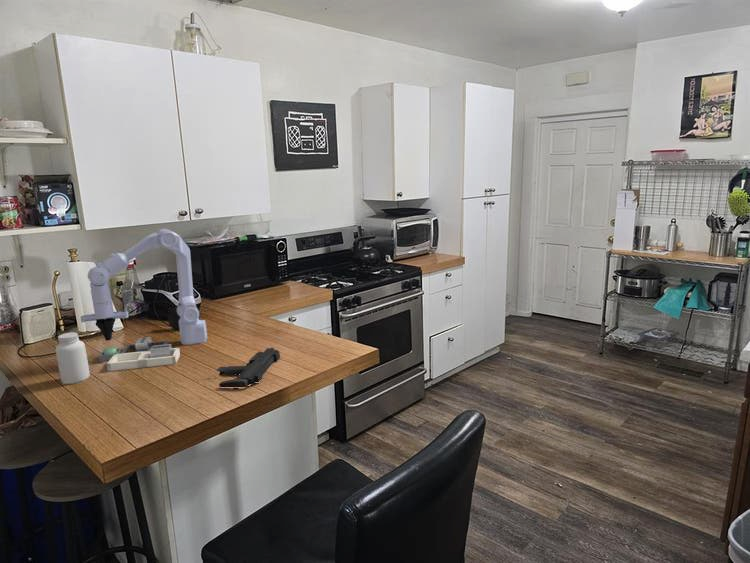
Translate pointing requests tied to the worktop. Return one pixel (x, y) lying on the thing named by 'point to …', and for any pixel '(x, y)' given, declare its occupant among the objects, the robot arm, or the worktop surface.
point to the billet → (143, 344)
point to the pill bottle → (72, 359)
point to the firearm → (250, 369)
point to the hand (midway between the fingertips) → (108, 339)
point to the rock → (174, 318)
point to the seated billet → (161, 351)
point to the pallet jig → (140, 360)
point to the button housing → (108, 356)
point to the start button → (110, 350)
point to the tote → (132, 346)
